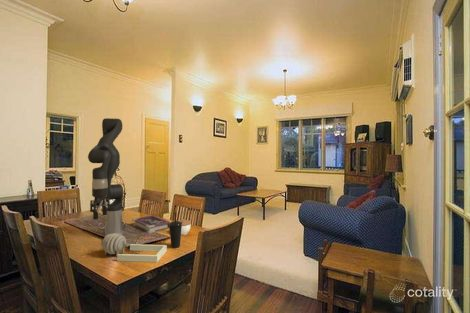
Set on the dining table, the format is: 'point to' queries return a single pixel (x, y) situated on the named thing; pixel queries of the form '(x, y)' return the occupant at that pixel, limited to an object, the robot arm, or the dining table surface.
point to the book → (151, 223)
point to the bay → (143, 258)
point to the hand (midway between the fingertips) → (100, 217)
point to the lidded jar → (185, 226)
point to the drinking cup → (175, 233)
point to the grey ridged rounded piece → (114, 243)
